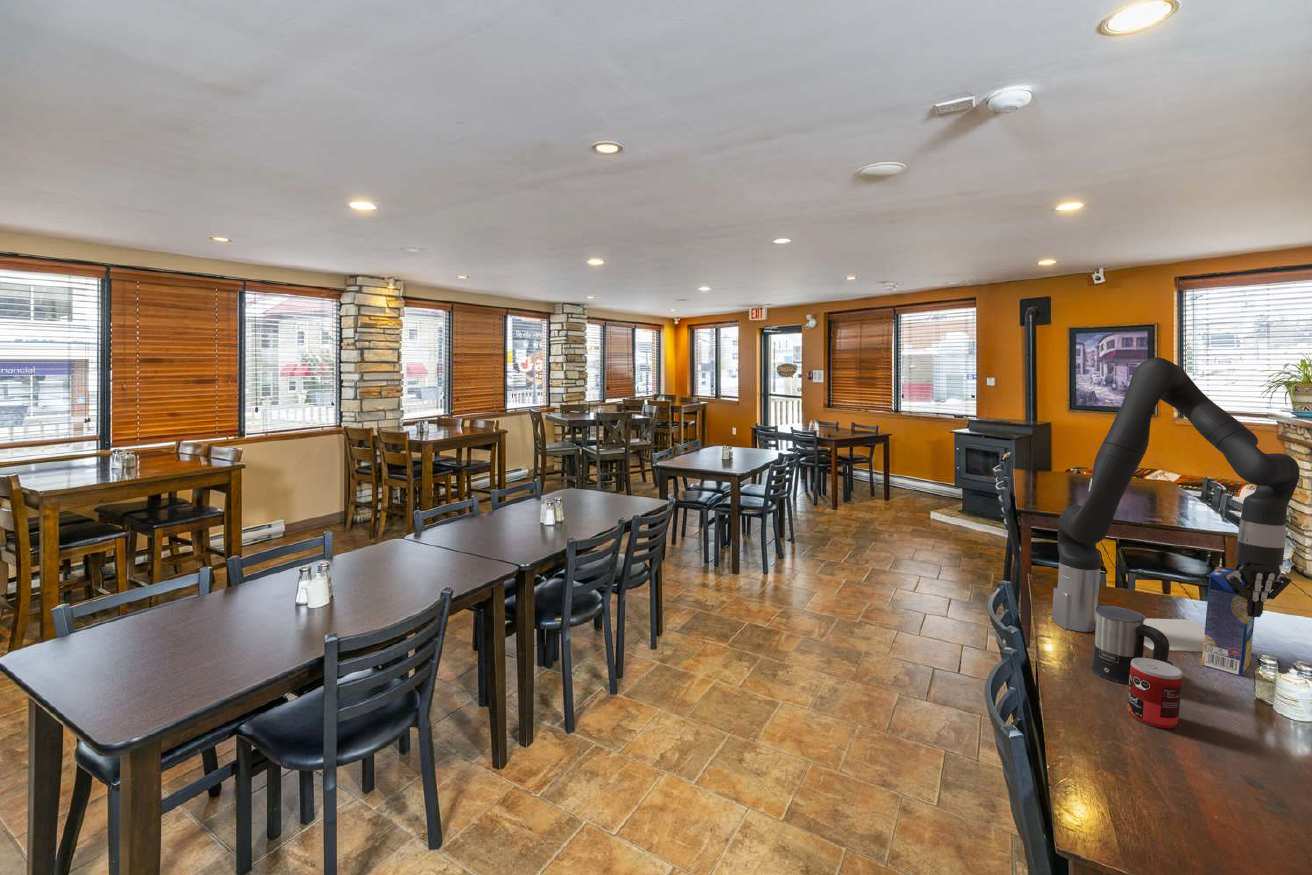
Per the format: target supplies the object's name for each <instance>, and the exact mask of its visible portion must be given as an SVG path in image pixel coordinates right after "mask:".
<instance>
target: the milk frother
mask: <svg viewBox="0 0 1312 875" xmlns="http://www.w3.org/2000/svg"><path fill="white" fill-rule="evenodd" d="M1095 611H1096V612H1097V614H1096V629H1095V634H1094V652H1093V662H1092V665H1091V670H1092V672H1093V673H1095V674H1096V675H1097V676H1099V677H1102V678H1104V679H1107V680H1109V681H1113V682H1116V683H1117V682H1118V683H1123V684H1129V677H1130V666H1131V661H1132V659H1134V658H1149V659H1154V660H1159V661H1162V662H1165V663H1168V664H1170V665H1173V666H1174V664H1173V661H1171V660H1168V658H1169V653H1170V651H1169V641H1168V639H1167V638H1166V636H1165V635H1164V634H1163V633H1162V632H1161V631H1159V630H1158V629H1156V628H1153V627H1150V626H1147V625H1145V624H1143V623H1144V620H1145V619H1147V618H1146V616H1145V615H1144V614H1142V613H1140V612H1139V611H1136V610H1132V609H1129V608H1125V607H1120V606H1113V605H1112V606H1111V605H1100V606H1097V607H1096V608H1095ZM1144 636H1146V637H1148V638H1149V639H1151V640H1152V641H1153V643H1154V650H1152V651H1153V654H1152V657H1149V656H1147V655H1145V656H1144V648H1145V645H1144Z"/></svg>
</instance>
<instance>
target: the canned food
mask: <svg viewBox="0 0 1312 875" xmlns="http://www.w3.org/2000/svg"><path fill="white" fill-rule="evenodd" d="M1149 658H1150V657H1148V658H1144V657H1143V658H1134V659H1132V661H1131V666H1130V677H1129V683H1128V688H1127V689H1128V690H1127V705H1126V709H1127V712H1128V714H1129V715H1130V716H1131V717H1132V716H1133V717H1134V718H1133V717H1132V718H1133V719H1135V720H1136V719H1137V720H1136V721H1138V720H1139V722H1140V721H1141V722H1140V723H1142V722H1143V724H1144V723H1147V724H1150V725H1153V726H1155V728H1158V727H1159V728H1158V729H1164V728H1169V730H1170V729H1174V728H1176V727H1177V726H1178V723H1179V719H1180V718H1179V717H1180V707H1181V696H1182V687H1183V671H1182V670H1181V669H1180V668H1178V667H1177V666H1175V665H1174V664H1173V665H1170V664H1168V663H1165V662H1162V661H1159V660H1154V659H1149ZM1147 724H1146V725H1147ZM1150 725H1149V726H1150ZM1153 726H1152V727H1153Z"/></svg>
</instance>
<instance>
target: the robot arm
mask: <svg viewBox="0 0 1312 875" xmlns="http://www.w3.org/2000/svg"><path fill="white" fill-rule="evenodd" d="M1127 386H1128V387H1127V388H1126V392H1125V395H1124V398H1123V400H1122V403H1121V405H1120V407H1119V410H1118V412H1117V414H1116V415H1115V418H1114V420H1113V422H1112V424H1111V426H1110V428H1109V430H1108V432H1107V434H1106V436H1105V438H1104V439H1103V442H1102V443H1101V445H1100V448H1099V449H1098V451H1097V453H1096V455H1095V458H1094V462H1093V468H1092V476H1091V477H1092V478H1091V484H1090V488H1089V491H1088V494H1087V496H1086V497H1085V499H1084V501H1083V503H1082V504H1081V505H1079V504H1077V505H1076V504H1075V505H1070V506H1068V507H1067V508H1065V509H1064V510H1062V512H1061V514H1060V516H1059V519H1058V524H1057V551H1058V555H1059V557H1058V558H1059V562H1058V572H1057V573H1058V575H1057V577H1058V578H1057V587H1053V593H1052V594H1053V595H1052V596H1053V597H1052V611H1051V621H1053V622H1054V623H1055V624H1056V625H1058V626H1060V627H1061V628H1062V629H1064V630H1071V631H1075V632H1076V631H1077V632H1082V633H1083V632H1084V633H1089V632H1090V633H1091V632H1094V631H1096V614H1097V612H1096V611H1095V608H1096V607H1098V603H1099V588H1100V580H1101V579H1100V577H1101V576H1100V575H1101V567H1102V566H1101V564H1102V559H1101V557H1100V554H1099V552H1098V549H1097V544H1098V543H1100V542H1101V541H1102V540H1104V539H1105V538H1106V536H1107V535H1108V534H1109V531H1110V529H1111V526H1112V523H1113V520H1114V518H1115V514H1116V511H1117V509H1118V507H1119V504H1120V502H1121V500H1122V498H1123V496H1124V495H1125V492H1126V490H1127V488H1128V487H1129V485H1130V482H1131V481H1132V479H1133V477H1134V475H1135V473H1136V472H1137V470H1138V468H1139V466H1140V464H1141V462H1142V460H1143V459H1144V456H1145V454H1146V451H1147V449H1148V446H1149V442H1150V434H1151V433H1150V432H1151V423H1152V418H1153V417H1152V416H1153V414H1154V411H1155V409H1156V407H1157V405H1158V404H1159V401H1160V400H1161V401H1162V402H1164V403H1166V404H1167V405H1169V406H1171V407H1173V408H1174V409H1175V410H1177V411H1178V412H1179V413H1180V414H1182V415H1183V416H1184V417H1185V418H1186V419H1187V420H1188V421H1189V422H1190V424H1191V425H1192V426H1193V427H1194V429H1195V430H1196V431H1197V433H1199V434H1200V435H1201V436H1202V438H1204V439H1205V440H1206V441H1208V442H1209V443H1210V444H1211V445H1212V447H1215V448H1216V449H1217V451H1219V453H1222V455H1223V456H1224V458H1225V460H1226V461H1227V463H1228V464H1229V465H1230V467H1231V468H1232V470H1233V471H1234V472H1235V474H1236V475H1238V477H1240V478H1241V479H1242V480H1243V481H1245V482H1247V483H1249V484H1251V485H1254V486H1256V488H1255V490H1254V492H1252V493H1251V494H1249V495H1247V496H1245V497H1244V499H1243V502H1242V508H1241V509H1242V511H1241V519H1240V523H1239V527H1238V531H1237V532H1238V533H1237V542H1236V552H1235V558H1236V560H1237V564H1236V565H1235V567H1234V569H1235V571H1234V572H1233V573H1231V574H1224V575H1223V577H1224V579H1225V580H1226V581H1227V583H1228V584H1229V585H1230V587H1231V588H1232V590H1233V591H1234V592H1235V594H1237V595H1239V596H1241V597H1244V598H1246V599H1247V601H1248V602H1249V604H1247V606H1248V607H1247V609H1248V611H1247V612H1248V615H1249V616H1251V617H1255V618H1261V616H1262V615H1263V613H1264V604H1265V602H1266V601H1267V600H1275V599H1276V598H1277V596H1279V595H1280V594H1281V593H1282V592H1283V591H1284V590H1285V589H1286V588H1287V587H1288V586H1289V585H1290V584H1291V583H1292V580H1291V578H1289V577H1286V576H1284V575H1283V574H1282V570H1281V568H1280V566H1283V564H1284V559H1285V558H1284V554H1285V549H1286V548H1285V547H1286V538H1287V530H1286V529H1287V528H1286V524H1287V517H1288V516H1287V513H1288V505H1289V503H1290V501H1291V500H1292V497H1293V496H1294V493H1295V490H1296V489H1297V486H1298V484H1299V481H1300V474H1301V470H1300V467H1299V464H1298V462H1297V461H1296V459H1295V458H1294V457H1292V456H1291V455H1288V454H1285V453H1281V452H1280V453H1273V452H1272V453H1265V452H1263V451H1262V450H1261V449H1260V448H1259V447H1258V443H1259V438H1258V437H1257V436H1256V434H1255V433H1253V432H1252V431H1251V430H1250V429H1249V428H1248V427H1246V426H1245V425H1244V424H1243V423H1241V422H1240V421H1239V420H1238V419H1236V418H1235V417H1234V416H1233V415H1231V414H1230V413H1228V411H1225V410H1224V409H1223V408H1221V407H1220V406H1219V405H1218V404H1216V403H1215V402H1214V401H1212V400H1211V399H1210V398H1209V397H1208V396H1207V395H1206V394H1205V393H1204V392H1203V391H1202V390H1201V389H1200V388H1199V386H1197V384H1196V383H1195V382H1194V381H1193V380H1192V379H1191V378H1190V376H1189V375H1188V374H1187V372H1186V371H1185V370H1184V369H1183V368H1182V367H1181V366H1179V365H1177V364H1175V363H1174V362H1172V361H1170V360H1169V359H1166V358H1164V357H1152V358H1148V359H1146V360H1144V361H1142V362H1141V363H1140V364H1139V365H1138V366H1137V367H1136V369H1134V372H1133V373H1132V376H1131V378H1130V381H1129V383H1128V385H1127ZM1242 581H1243V582H1244V583H1245V584H1248V585H1250V586H1247V589H1248V590H1250V594H1249V593H1248V591H1247V590H1246V589H1245V587H1244V586H1243V584H1242V583H1241V582H1242Z"/></svg>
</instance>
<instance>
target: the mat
mask: <svg viewBox="0 0 1312 875" xmlns="http://www.w3.org/2000/svg"><path fill="white" fill-rule="evenodd" d="M1143 624H1145V625H1147V626H1150V627H1153V628H1156V629H1158V630H1159V631H1161V632H1162V633H1163V634H1164V635H1165V636H1166V638H1167V639H1168V641H1169V652H1191V653H1192V652H1196V653H1198V652H1199V653H1200V652H1201V653H1203V646H1204V635H1205V626H1203V625H1200V624H1198V623H1196V622H1194V621H1192V620H1190V619H1186V618H1185V619H1180V618H1177V619H1176V618H1174V619H1173V618H1146V619H1145V620H1144V623H1143ZM1144 647H1146V648H1148V649H1150V650H1151V651H1154V643H1153V641H1152V640H1151V639H1149V638H1148V637H1146V636H1144ZM1254 653H1255V652H1254V651H1253V650H1251V654H1254Z"/></svg>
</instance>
